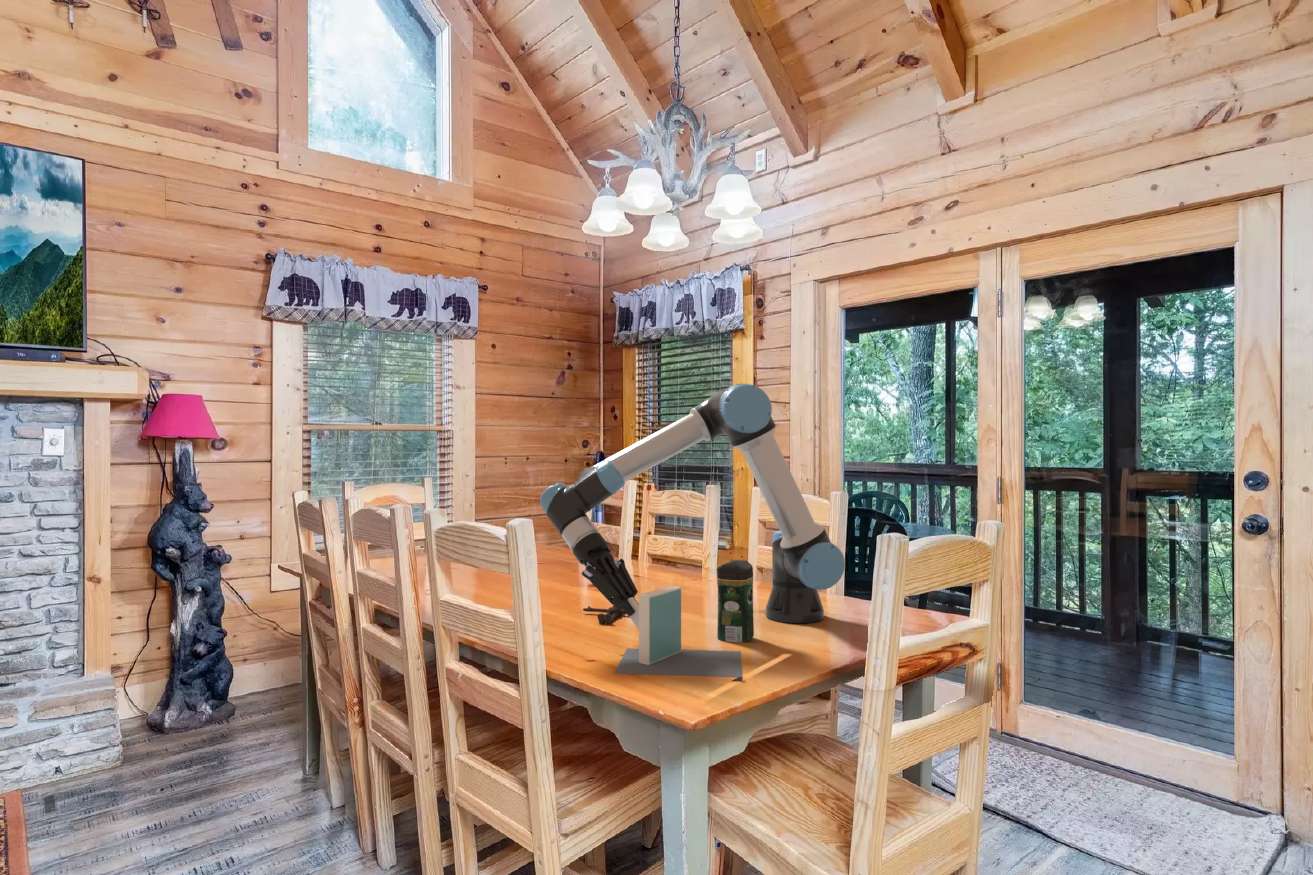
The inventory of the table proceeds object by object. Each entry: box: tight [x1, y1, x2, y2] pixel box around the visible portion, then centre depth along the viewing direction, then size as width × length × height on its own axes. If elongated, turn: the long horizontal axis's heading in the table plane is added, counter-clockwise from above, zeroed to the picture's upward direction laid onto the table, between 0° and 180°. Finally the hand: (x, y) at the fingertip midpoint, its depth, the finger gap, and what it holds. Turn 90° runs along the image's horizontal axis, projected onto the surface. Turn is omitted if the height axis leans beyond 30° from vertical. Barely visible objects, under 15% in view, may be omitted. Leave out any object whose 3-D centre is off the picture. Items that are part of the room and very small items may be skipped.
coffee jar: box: [716, 559, 755, 644], centre depth 175 cm, size 10×8×19 cm
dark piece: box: [582, 603, 627, 625], centre depth 197 cm, size 18×4×14 cm
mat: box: [614, 647, 744, 682], centre depth 155 cm, size 25×18×1 cm
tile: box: [638, 585, 682, 665], centre depth 158 cm, size 3×12×14 cm, turn 145°
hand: (644, 625), depth 160 cm, fingers closed
